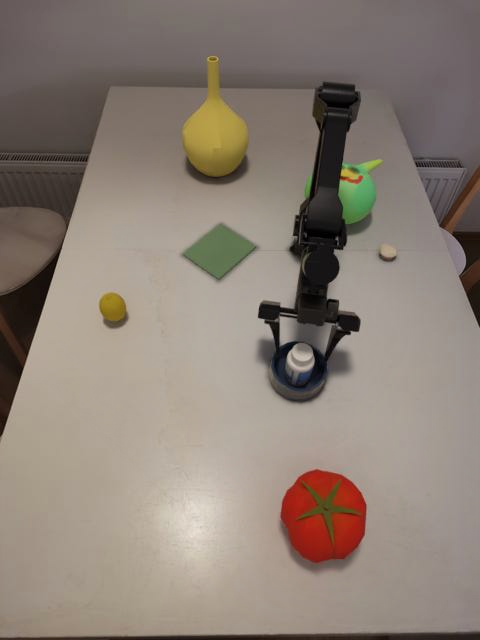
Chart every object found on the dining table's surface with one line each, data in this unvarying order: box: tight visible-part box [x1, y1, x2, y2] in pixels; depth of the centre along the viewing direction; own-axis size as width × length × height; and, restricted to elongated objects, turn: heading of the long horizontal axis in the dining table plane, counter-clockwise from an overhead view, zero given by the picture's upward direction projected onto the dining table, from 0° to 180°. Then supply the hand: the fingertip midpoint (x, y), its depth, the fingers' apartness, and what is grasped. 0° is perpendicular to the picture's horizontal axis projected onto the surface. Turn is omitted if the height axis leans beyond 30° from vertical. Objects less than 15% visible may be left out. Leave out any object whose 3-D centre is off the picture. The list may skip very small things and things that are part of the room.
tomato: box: [279, 468, 368, 564], centre depth 70 cm, size 13×14×12 cm
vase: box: [181, 55, 250, 178], centre depth 114 cm, size 18×18×30 cm
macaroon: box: [379, 243, 398, 261], centre depth 107 cm, size 4×5×2 cm
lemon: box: [98, 292, 127, 322], centre depth 93 cm, size 6×6×8 cm
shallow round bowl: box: [269, 340, 328, 401], centre depth 88 cm, size 11×11×4 cm
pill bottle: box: [284, 342, 315, 386], centre depth 85 cm, size 6×5×10 cm
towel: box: [182, 223, 257, 281], centre depth 108 cm, size 14×12×1 cm
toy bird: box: [304, 158, 384, 225], centre depth 110 cm, size 18×17×15 cm
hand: (301, 359), depth 83 cm, fingers open, 9 cm apart
